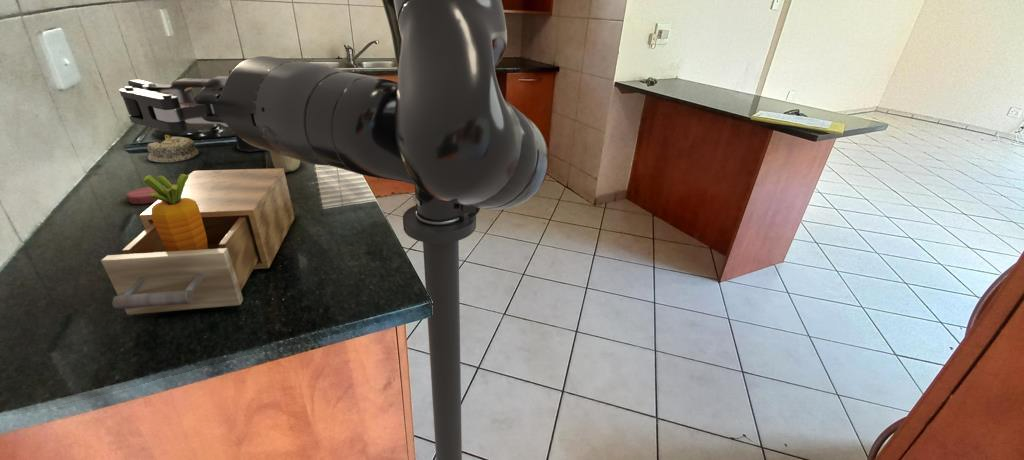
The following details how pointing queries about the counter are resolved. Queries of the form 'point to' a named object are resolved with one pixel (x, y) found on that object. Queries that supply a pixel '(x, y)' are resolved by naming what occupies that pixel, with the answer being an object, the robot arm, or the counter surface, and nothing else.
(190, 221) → the carrot
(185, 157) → the cake
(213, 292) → the drawer
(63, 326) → the counter surface
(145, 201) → the popsicle
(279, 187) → the cabinet
